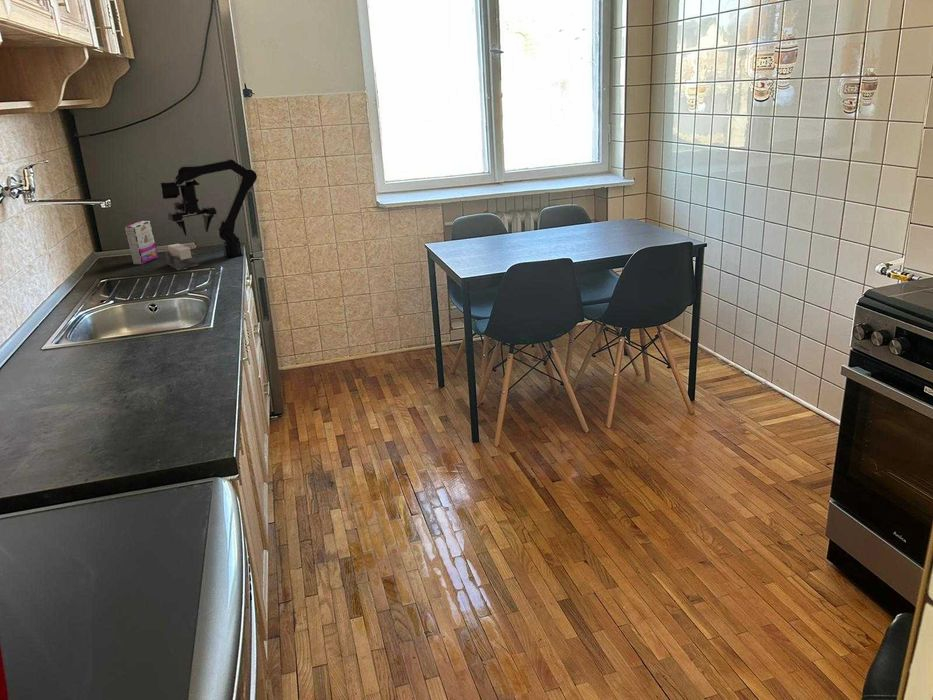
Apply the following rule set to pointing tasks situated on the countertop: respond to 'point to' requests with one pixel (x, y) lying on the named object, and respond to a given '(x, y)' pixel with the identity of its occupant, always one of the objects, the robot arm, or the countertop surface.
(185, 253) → the clay block
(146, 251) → the candy bar box
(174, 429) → the countertop surface
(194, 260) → the dark grey angular piece
